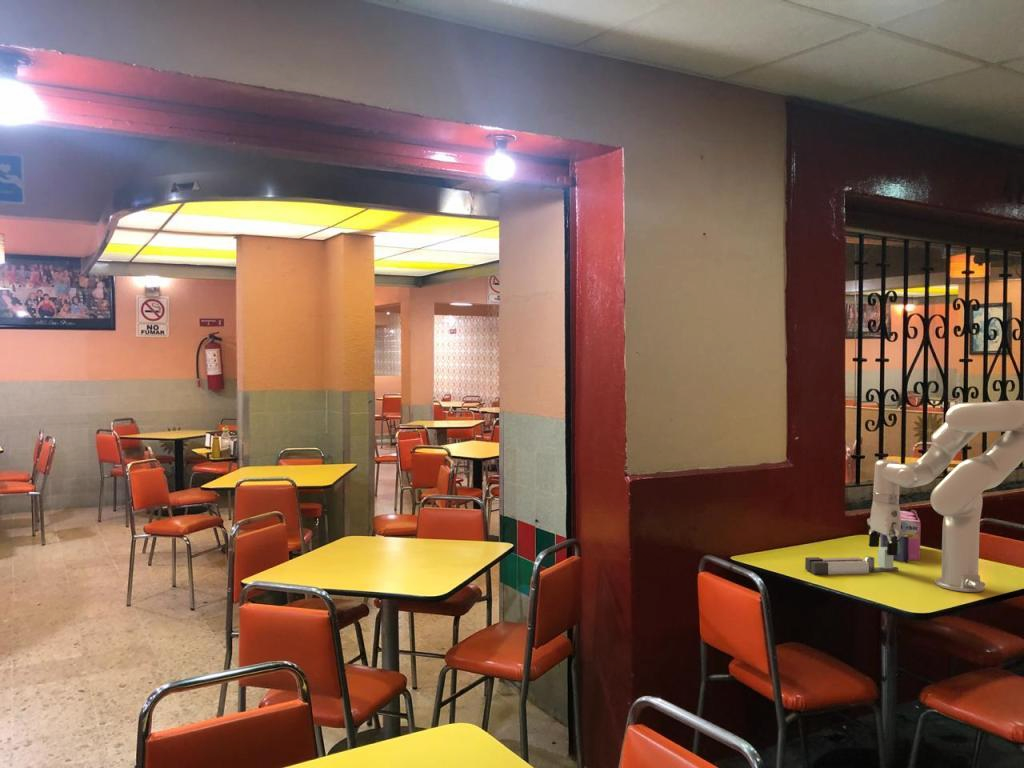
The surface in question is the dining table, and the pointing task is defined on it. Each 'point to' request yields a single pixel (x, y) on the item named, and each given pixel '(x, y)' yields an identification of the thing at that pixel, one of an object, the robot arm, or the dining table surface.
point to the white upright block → (884, 558)
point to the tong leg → (827, 560)
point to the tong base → (846, 567)
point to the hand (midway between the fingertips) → (882, 550)
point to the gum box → (911, 533)
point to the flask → (902, 547)
